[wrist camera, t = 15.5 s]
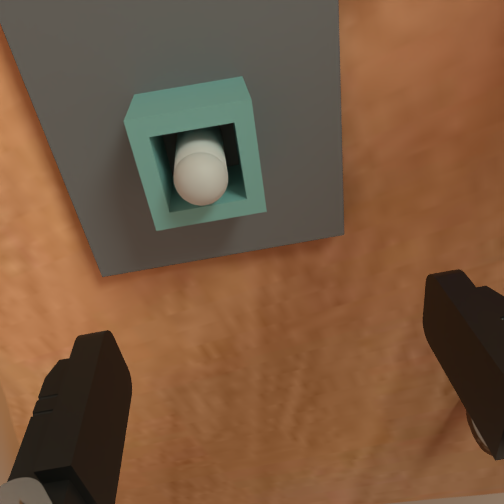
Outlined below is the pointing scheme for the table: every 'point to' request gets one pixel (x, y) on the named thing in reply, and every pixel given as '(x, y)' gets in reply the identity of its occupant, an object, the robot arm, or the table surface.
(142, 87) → the post plate
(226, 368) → the table surface
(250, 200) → the collar
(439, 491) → the table surface
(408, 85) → the table surface
